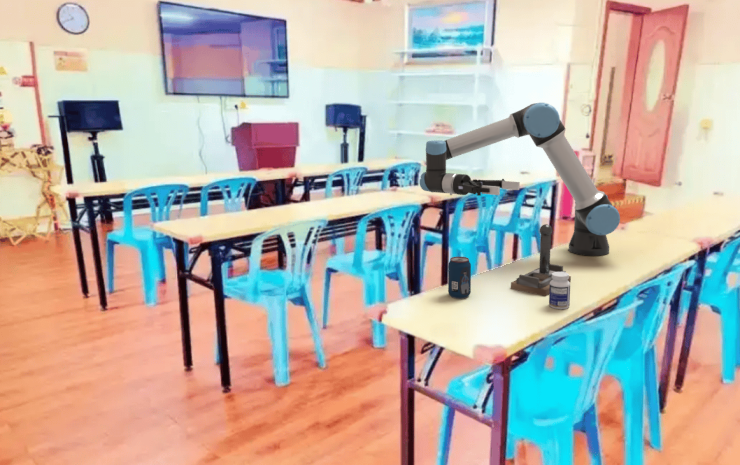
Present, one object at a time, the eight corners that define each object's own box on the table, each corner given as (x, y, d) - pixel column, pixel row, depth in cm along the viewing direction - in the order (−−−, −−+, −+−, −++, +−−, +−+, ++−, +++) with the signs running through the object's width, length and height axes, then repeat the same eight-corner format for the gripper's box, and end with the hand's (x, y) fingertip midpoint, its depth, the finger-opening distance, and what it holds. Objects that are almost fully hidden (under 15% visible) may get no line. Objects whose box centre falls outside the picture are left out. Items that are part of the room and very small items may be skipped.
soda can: (454, 290, 179) (454, 254, 176) (474, 294, 175) (474, 257, 173) (444, 297, 174) (444, 260, 171) (464, 300, 170) (464, 263, 167)
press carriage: (539, 274, 187) (541, 222, 183) (555, 277, 183) (557, 224, 179) (532, 277, 183) (534, 224, 179) (548, 281, 179) (551, 226, 176)
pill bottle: (554, 301, 167) (556, 269, 165) (572, 306, 163) (574, 273, 161) (545, 306, 163) (546, 274, 161) (563, 311, 159) (565, 277, 157)
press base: (535, 275, 193) (536, 261, 192) (572, 282, 184) (572, 267, 183) (509, 288, 180) (509, 273, 179) (547, 296, 171) (547, 280, 170)
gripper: (475, 190, 214) (526, 194, 200) (437, 198, 197) (489, 204, 182) (476, 170, 213) (527, 173, 198) (437, 177, 195) (490, 181, 181)
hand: (509, 188), depth 190 cm, fingers open, 13 cm apart
